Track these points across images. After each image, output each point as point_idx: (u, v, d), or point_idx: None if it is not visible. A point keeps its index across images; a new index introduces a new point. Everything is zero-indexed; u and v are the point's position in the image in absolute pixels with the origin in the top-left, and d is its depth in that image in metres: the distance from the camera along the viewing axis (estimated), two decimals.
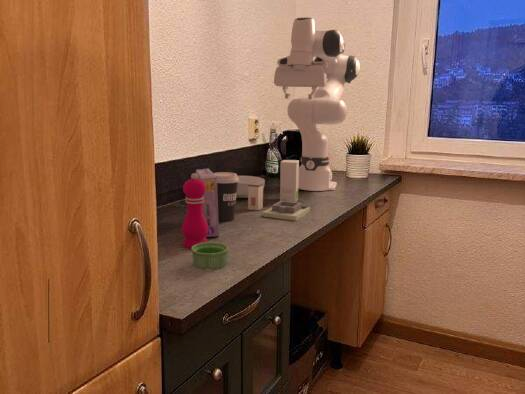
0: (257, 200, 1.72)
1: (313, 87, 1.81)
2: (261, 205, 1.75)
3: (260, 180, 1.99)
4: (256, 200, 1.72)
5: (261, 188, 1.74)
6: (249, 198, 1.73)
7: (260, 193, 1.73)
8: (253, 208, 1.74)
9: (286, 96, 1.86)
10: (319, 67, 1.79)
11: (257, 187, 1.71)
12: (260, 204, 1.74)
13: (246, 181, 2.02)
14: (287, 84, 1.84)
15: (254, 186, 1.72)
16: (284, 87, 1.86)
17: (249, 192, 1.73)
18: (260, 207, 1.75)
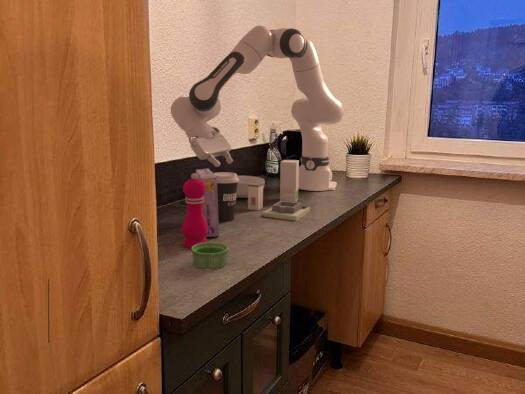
0: (257, 200, 1.72)
1: None
2: (261, 205, 1.75)
3: (260, 180, 1.99)
4: (256, 200, 1.72)
5: (261, 188, 1.74)
6: (249, 198, 1.73)
7: (260, 193, 1.73)
8: (253, 208, 1.74)
9: None
10: None
11: (257, 187, 1.71)
12: (260, 204, 1.74)
13: (246, 181, 2.02)
14: None
15: (254, 186, 1.72)
16: None
17: (249, 192, 1.73)
18: (260, 207, 1.75)
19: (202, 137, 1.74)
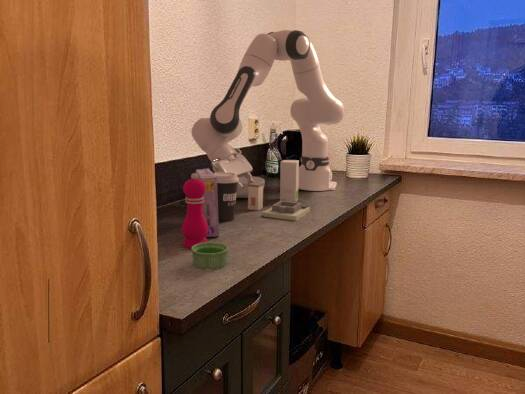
0: (257, 200, 1.72)
1: None
2: (261, 205, 1.75)
3: (260, 180, 1.99)
4: (256, 200, 1.72)
5: (261, 188, 1.74)
6: (249, 198, 1.73)
7: (260, 193, 1.73)
8: (253, 208, 1.74)
9: None
10: None
11: (257, 187, 1.71)
12: (260, 204, 1.74)
13: (246, 181, 2.02)
14: None
15: (254, 186, 1.72)
16: None
17: (249, 192, 1.73)
18: (260, 207, 1.75)
19: (224, 159, 1.72)
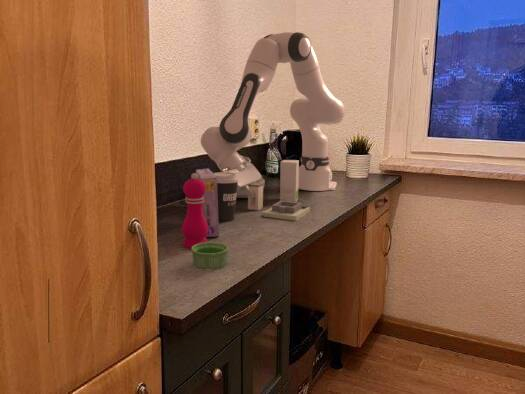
0: (257, 200, 1.72)
1: None
2: (261, 205, 1.75)
3: None
4: (256, 200, 1.72)
5: (261, 188, 1.74)
6: (249, 198, 1.73)
7: (260, 193, 1.73)
8: (253, 208, 1.74)
9: None
10: None
11: (257, 187, 1.71)
12: (260, 204, 1.74)
13: None
14: None
15: (254, 186, 1.72)
16: None
17: None
18: (260, 207, 1.75)
19: (234, 169, 1.71)
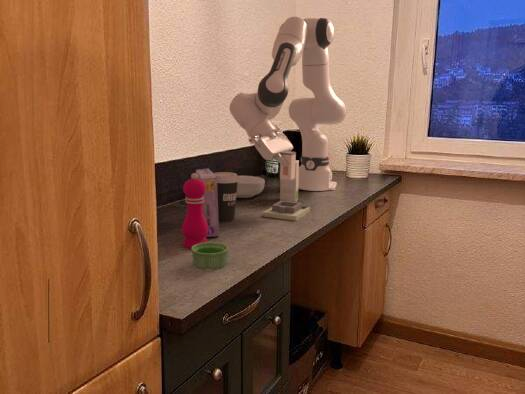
0: (290, 169, 1.63)
1: None
2: (293, 175, 1.66)
3: (260, 180, 1.99)
4: (289, 169, 1.63)
5: (294, 157, 1.64)
6: (281, 167, 1.64)
7: (293, 162, 1.64)
8: (285, 178, 1.64)
9: None
10: None
11: (290, 155, 1.62)
12: (292, 174, 1.65)
13: (246, 181, 2.02)
14: None
15: (287, 154, 1.62)
16: None
17: None
18: (293, 177, 1.65)
19: (266, 136, 1.62)
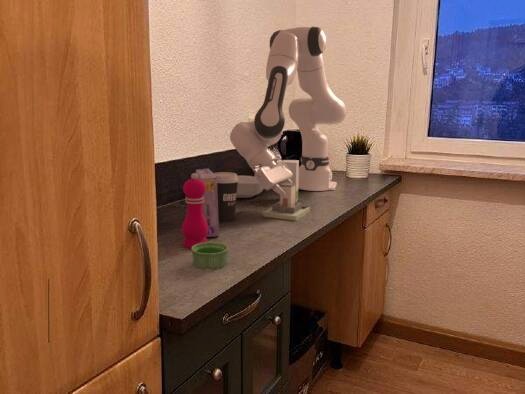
0: (289, 201, 1.65)
1: None
2: None
3: None
4: (288, 201, 1.65)
5: (293, 188, 1.66)
6: (281, 199, 1.66)
7: (292, 194, 1.66)
8: None
9: None
10: None
11: (290, 187, 1.64)
12: (292, 205, 1.67)
13: (246, 181, 2.02)
14: None
15: (286, 186, 1.65)
16: None
17: None
18: None
19: (266, 165, 1.64)
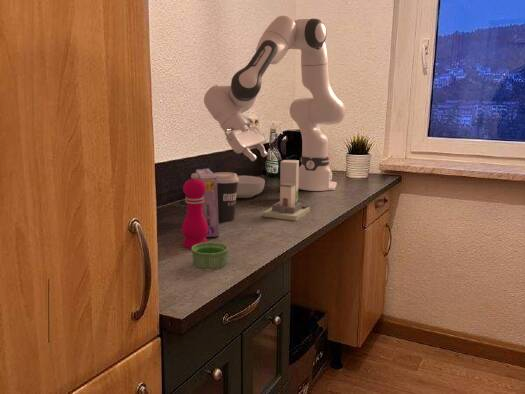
0: (289, 201, 1.65)
1: None
2: None
3: (260, 180, 1.99)
4: (288, 201, 1.65)
5: (293, 188, 1.66)
6: (281, 199, 1.66)
7: (292, 194, 1.66)
8: None
9: None
10: None
11: (290, 187, 1.64)
12: (292, 205, 1.67)
13: (246, 181, 2.02)
14: None
15: (286, 186, 1.65)
16: None
17: (281, 192, 1.66)
18: None
19: (238, 129, 1.66)
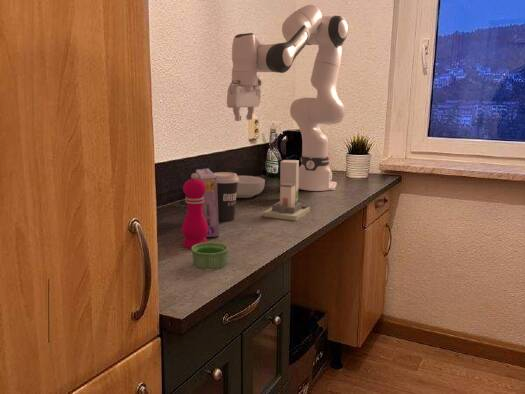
0: (289, 201, 1.65)
1: None
2: None
3: (260, 180, 1.99)
4: (288, 201, 1.65)
5: (293, 188, 1.66)
6: (281, 199, 1.66)
7: (292, 194, 1.66)
8: None
9: None
10: None
11: (290, 187, 1.64)
12: (292, 205, 1.67)
13: (246, 181, 2.02)
14: None
15: (286, 186, 1.65)
16: None
17: (281, 192, 1.66)
18: None
19: (243, 86, 1.68)
